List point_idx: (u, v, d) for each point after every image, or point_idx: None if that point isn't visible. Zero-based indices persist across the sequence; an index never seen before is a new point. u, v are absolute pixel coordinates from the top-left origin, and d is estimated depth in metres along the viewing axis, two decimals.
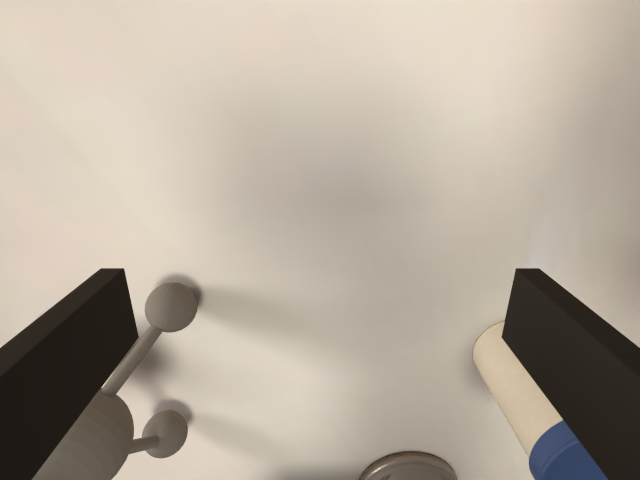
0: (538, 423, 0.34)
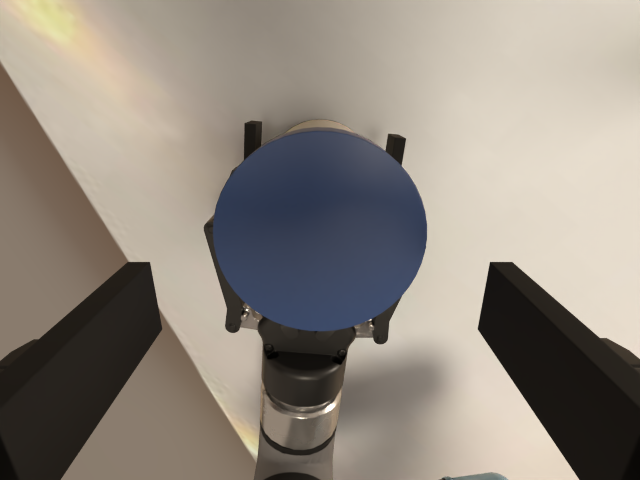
0: None
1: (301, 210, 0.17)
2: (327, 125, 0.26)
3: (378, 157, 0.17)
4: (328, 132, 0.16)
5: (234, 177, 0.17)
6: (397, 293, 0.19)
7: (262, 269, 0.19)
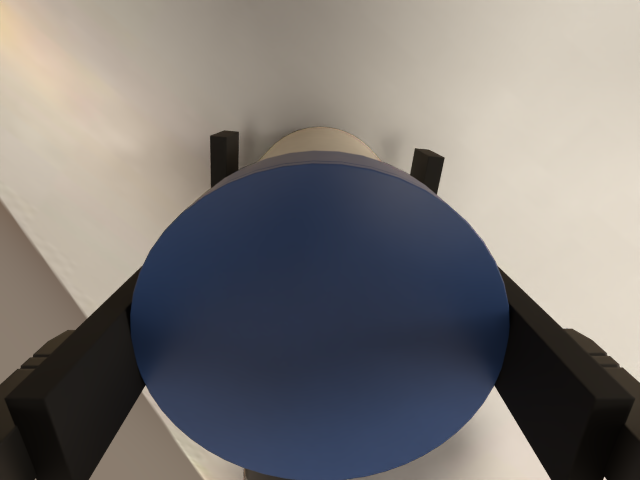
0: None
1: (287, 302, 0.10)
2: (330, 138, 0.18)
3: (429, 212, 0.09)
4: (336, 166, 0.08)
5: (161, 246, 0.09)
6: (450, 428, 0.11)
7: (221, 393, 0.11)
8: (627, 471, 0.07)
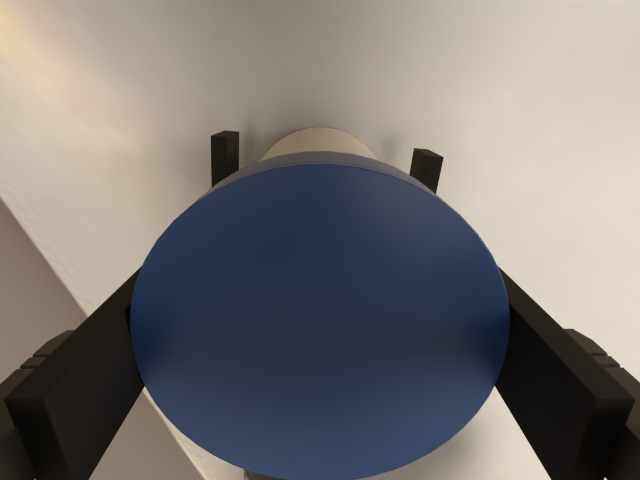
0: None
1: (254, 354, 0.10)
2: (330, 137, 0.18)
3: (217, 208, 0.09)
4: (144, 266, 0.09)
5: (165, 409, 0.11)
6: (491, 279, 0.09)
7: (320, 438, 0.11)
8: (628, 471, 0.07)
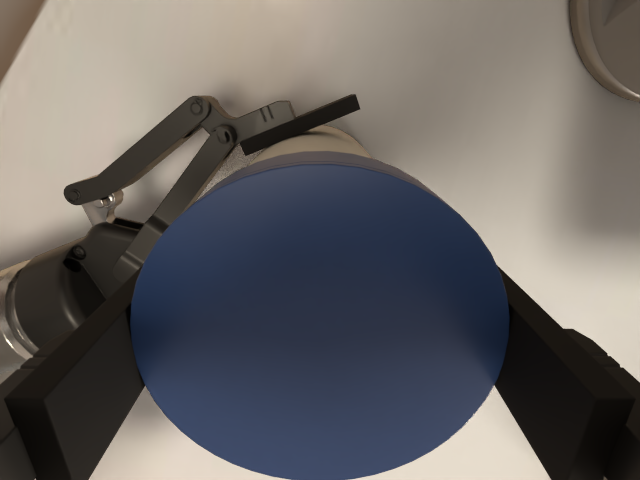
0: None
1: (254, 353, 0.10)
2: None
3: (216, 207, 0.09)
4: (144, 265, 0.09)
5: (166, 408, 0.11)
6: (490, 279, 0.09)
7: (320, 437, 0.11)
8: (627, 471, 0.07)
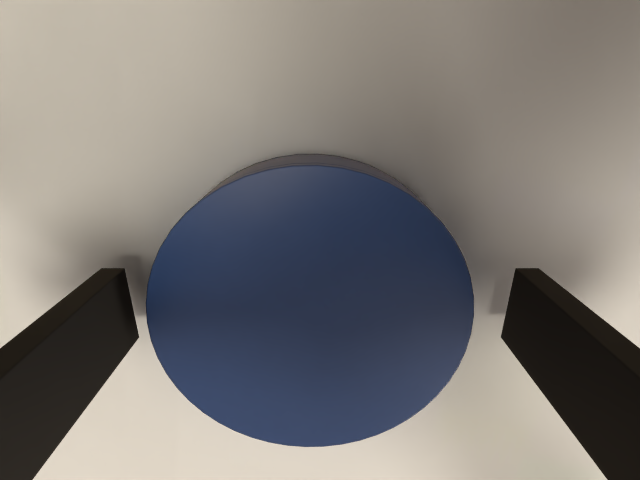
0: None
1: (254, 329, 0.12)
2: None
3: (221, 202, 0.10)
4: (159, 252, 0.11)
5: (176, 380, 0.13)
6: (456, 263, 0.11)
7: (311, 406, 0.13)
8: None
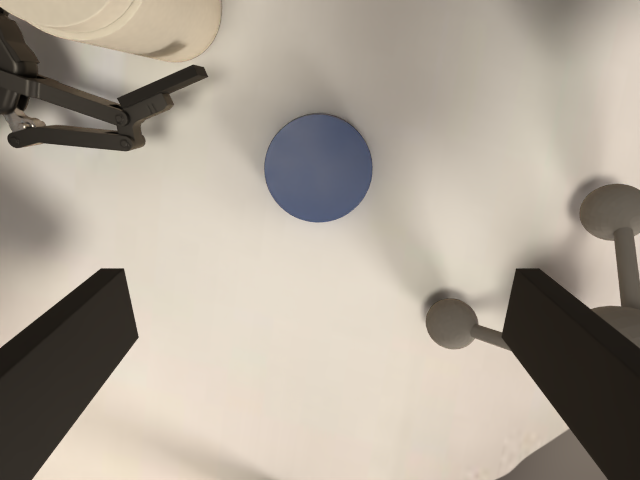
0: (124, 34, 0.22)
1: (299, 171, 0.36)
2: None
3: (291, 126, 0.34)
4: (271, 143, 0.35)
5: (271, 192, 0.36)
6: (364, 147, 0.35)
7: (318, 203, 0.37)
8: None
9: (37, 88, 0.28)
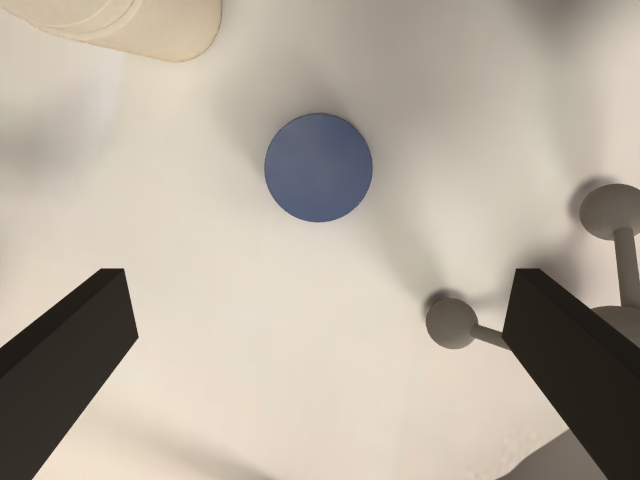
0: (124, 34, 0.22)
1: (299, 171, 0.36)
2: None
3: (291, 126, 0.34)
4: (271, 143, 0.35)
5: (272, 192, 0.36)
6: (364, 147, 0.35)
7: (318, 203, 0.37)
8: None
9: None
